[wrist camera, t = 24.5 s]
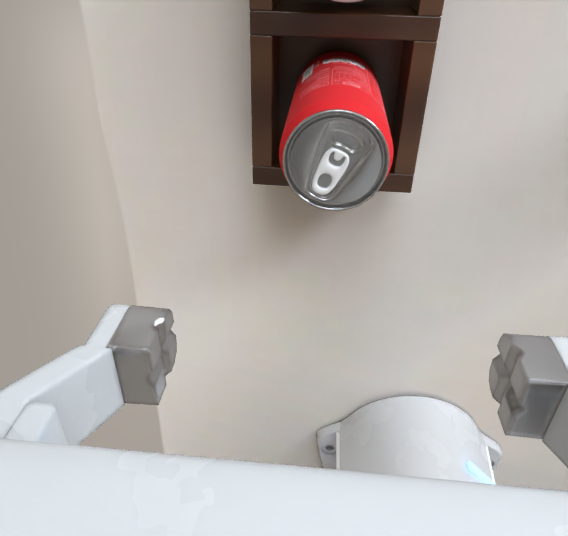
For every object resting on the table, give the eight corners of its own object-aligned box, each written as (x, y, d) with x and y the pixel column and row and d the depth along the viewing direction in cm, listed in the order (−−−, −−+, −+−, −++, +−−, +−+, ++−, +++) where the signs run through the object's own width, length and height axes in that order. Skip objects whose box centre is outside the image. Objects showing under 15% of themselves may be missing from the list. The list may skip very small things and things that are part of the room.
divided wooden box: (401, 159, 36) (410, 193, 31) (263, 152, 36) (252, 184, 32) (456, -191, 25) (481, -217, 21) (261, -191, 26) (245, -217, 22)
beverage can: (393, 71, 31) (418, 137, 21) (353, 143, 34) (358, 232, 24) (318, 32, 30) (308, 82, 20) (283, 110, 33) (259, 187, 23)
